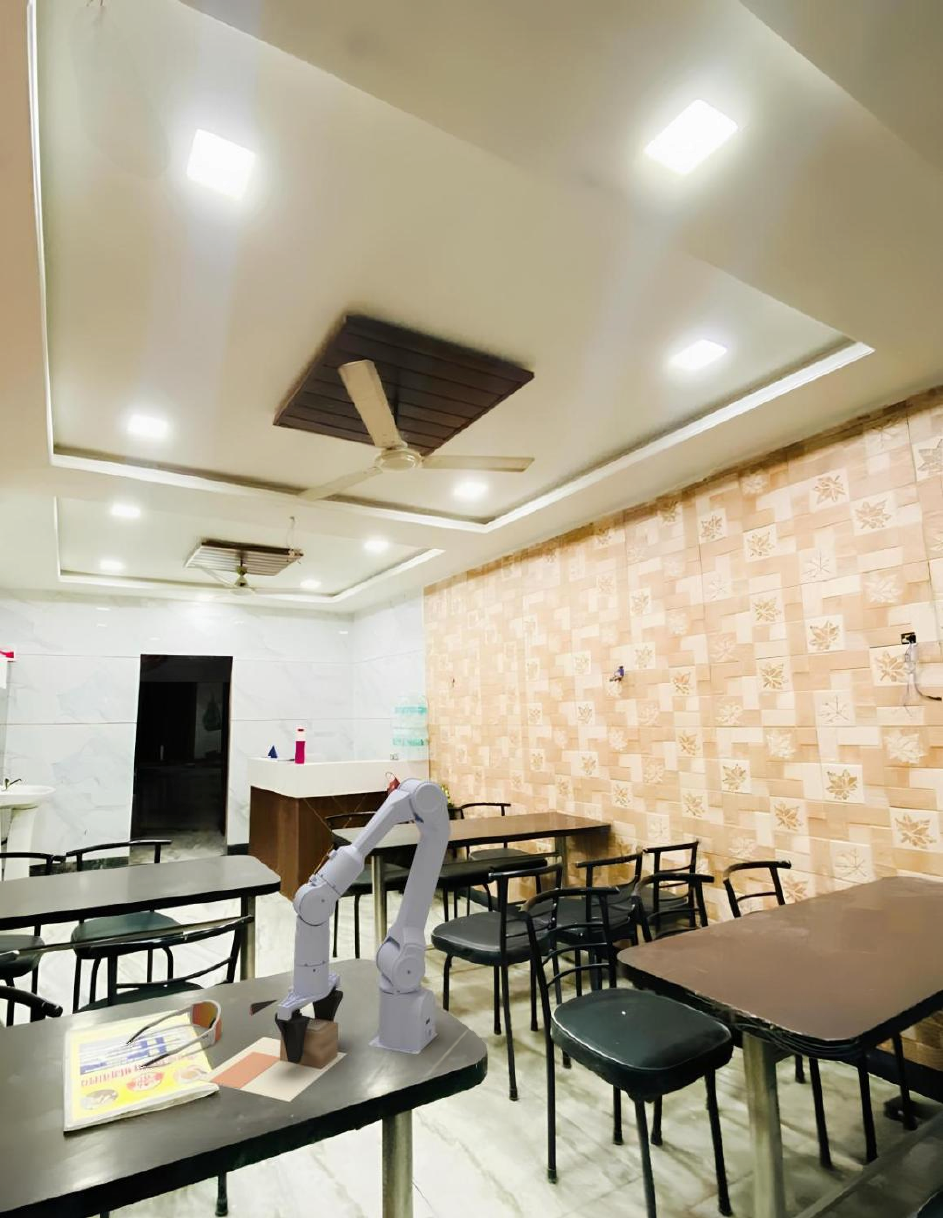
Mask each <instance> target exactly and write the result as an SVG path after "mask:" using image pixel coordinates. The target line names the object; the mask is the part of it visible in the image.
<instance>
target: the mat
mask: <svg viewBox="0 0 943 1218" xmlns="http://www.w3.org/2000/svg"><path fill="white" fill-rule="evenodd" d="M280 1042H281V1039H276V1038H271V1037H265V1036H263V1037H261V1038H260V1039H258V1040H256V1041H255V1042H254V1043H252V1044H251V1045H248V1046H247V1047H245V1049H244V1048H243V1050H241V1051H240V1052H238V1053H237V1054H235V1055H233V1056H232V1057H230V1058H229V1059H227V1060H225V1061H224V1062H223V1063H221V1064H220V1065H219V1066H217V1067H215V1068H214V1069H212V1070H210V1071H208V1072H207V1073H206V1074H205V1075H203V1076H202V1077H200V1078H198V1079H197V1080H198V1081H202V1082H204V1083H205V1082H206V1083H210V1084H215V1085H217V1086H218V1085H219V1086H222V1087H227V1088H230V1089H235V1090H238V1091H243V1092H247V1093H252V1094H255V1095H259V1096H263V1097H267V1098H272V1099H276V1100H279V1101H280V1100H281V1101H284V1102H286V1103H287V1102H288V1103H290V1102H291V1101H292V1100H294V1099H295V1098H296V1097H297V1096H298V1095H300V1094H301V1093H302V1092H303V1091H304V1090H306V1089H307V1088H308V1087H309V1086H311V1085H312V1084H313V1083H314V1082H315V1081H317V1080H318V1079H319V1078H320V1077H321V1076H322V1075H324V1074H325V1073H326V1072H327V1071H328V1070H330V1069H331V1068H332V1067H333V1066H335V1065H336V1064H337V1063H338V1062H339V1061H340V1060H342V1058H344V1057H345V1056H346V1055H347V1053H345V1052H339V1051H337V1057H336V1058H335V1059H333V1060H332V1061H331V1062H330V1063H328V1064H327V1065H326V1066H325V1067H324V1068H322V1069H317V1068H313V1067H308V1066H303V1065H299V1064H294V1063H289V1062H285V1061H280Z"/></svg>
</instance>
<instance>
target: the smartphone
mask: <svg viewBox="0 0 943 1218" xmlns="http://www.w3.org/2000/svg"><path fill="white" fill-rule="evenodd" d="M277 1001H279V999H278V998H277V999H273V1000H266V1001H260V1002H259V1001H258V1002H253V1003H251V1004H250V1014H251V1016H254V1015H255V1014H257V1013H259V1012H260V1011H262V1010H264V1009H265V1008H267V1007H269V1006H271V1005H272V1004H274V1003H275V1002H277Z"/></svg>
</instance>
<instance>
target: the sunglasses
mask: <svg viewBox="0 0 943 1218" xmlns="http://www.w3.org/2000/svg"><path fill="white" fill-rule="evenodd" d="M186 1013H189V1025H190V1026H191V1025H192V1026H191V1027H203V1028H206V1029H208V1030H206V1031H205V1032H203V1033H202V1034H200V1035H199V1036H196V1037H195V1038H194V1039H192V1040H190V1041H188V1042H187V1043H184V1044H183V1045H181V1046H178V1047H177V1048H174V1049H172V1050H168V1051H166V1052H165V1053H162V1054H160V1055H158V1056H156V1057H154V1058H152V1059H150V1060H148V1061H146V1062H144V1063H142V1064H141V1065H139V1066H138V1067H143V1066H146V1068H147V1066H148V1067H149V1066H151V1065H154V1064H155V1063H157V1062H159V1061H161V1060H164V1059H166V1058H168V1057H171V1056H173V1055H177V1054H178V1053H180V1052H181V1051H184V1050H185V1049H187V1048H189V1047H190V1046H192V1045H195V1044H197V1043H200V1042H205V1040H206V1039H208V1038H209V1037H211V1040H210V1046H213V1045H215V1043H216V1042H217V1041H218V1040H219V1039H220V1036H221V1030H222V1006H221V1004H220V1003H219V1002H218V1001H216V1000H213V999H203V1000H200V1001H194V1002H193V1003H191V1005H187V1006H185V1007H182V1008H181V1009H178V1010H176V1011H173V1012H171V1013H169V1014H167V1015H164V1016H163V1017H161V1018H158V1019H156V1020H154V1021H152V1022H150V1023H147V1024H146V1025H144V1026H143V1027H142V1028H140V1029H139V1030H138V1031H136V1033H134V1034H133V1035H132V1036H130V1038H129V1039H128V1040H127V1041H126V1042H125V1043H124V1044H128V1043H129V1042H131V1043H132V1042H133V1041H134V1040H136V1039H137V1038H138V1036H140V1035H141V1034H143V1033H144V1032H145V1031H147V1030H148V1029H151V1028H153V1027H155V1026H158V1025H159V1024H161V1023H162V1022H163V1021H165V1020H167V1019H170V1018H174V1017H177V1016H180V1017H181V1016H183V1015H184V1014H186ZM128 1045H129V1044H128Z"/></svg>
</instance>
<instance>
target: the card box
mask: <svg viewBox="0 0 943 1218" xmlns="http://www.w3.org/2000/svg"><path fill="white" fill-rule="evenodd" d="M338 1034H339V1022H338V1021H333V1022H332V1021H326V1020H321V1019H315V1017H311V1018H310V1020H309V1023H308V1026H307V1029H306V1033H305V1037H304V1045H303V1054H302V1059H301V1062H300V1063H298V1064H299V1065H303V1066H308V1067H313V1068H317V1069H322V1068H324V1067H325V1066H326V1065H327V1064H328V1063H330V1062H331V1061H332V1060H333V1059H335V1058H336V1057H337V1052H339V1051H338V1050H339V1049H338V1045H339V1044H338V1042H339V1035H338ZM280 1040H281V1042H280V1061H285V1062H288V1059H287V1054H286V1049H285V1044H284V1040H283V1037H282V1034H281V1033H280ZM289 1063H292V1062H289ZM294 1064H297V1063H294Z"/></svg>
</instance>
